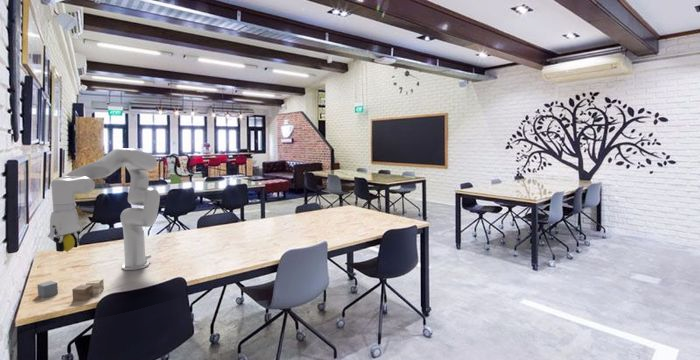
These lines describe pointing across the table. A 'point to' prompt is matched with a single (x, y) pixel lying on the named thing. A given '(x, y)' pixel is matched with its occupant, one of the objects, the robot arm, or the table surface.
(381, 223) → the table surface
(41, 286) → the blue-grey cube
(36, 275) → the table surface
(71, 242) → the lemon
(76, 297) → the walnut cube
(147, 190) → the robot arm
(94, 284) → the maple cube
